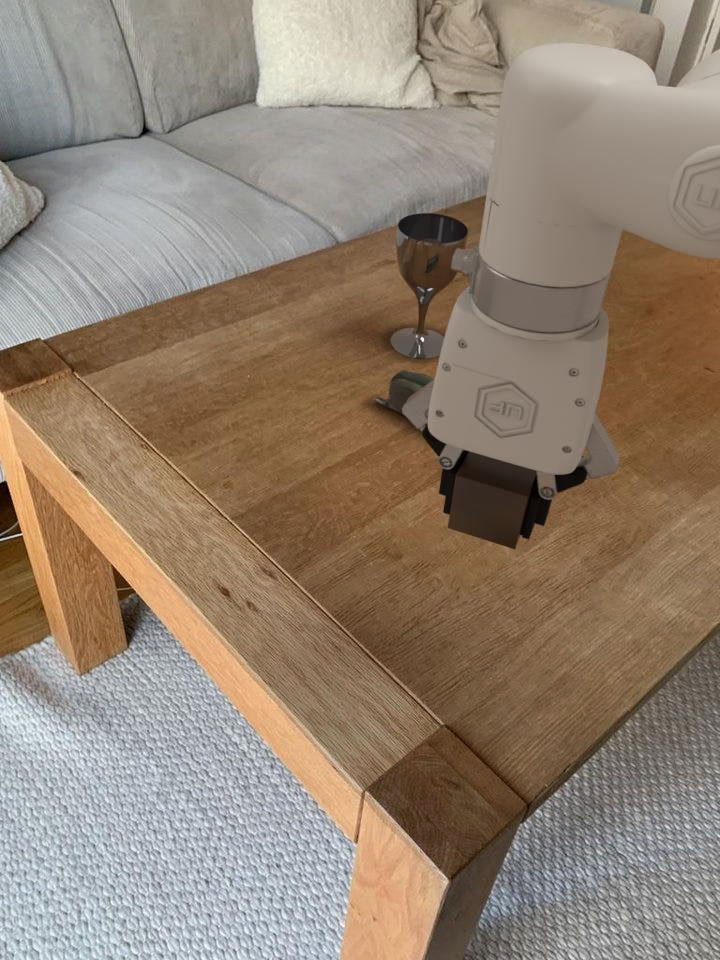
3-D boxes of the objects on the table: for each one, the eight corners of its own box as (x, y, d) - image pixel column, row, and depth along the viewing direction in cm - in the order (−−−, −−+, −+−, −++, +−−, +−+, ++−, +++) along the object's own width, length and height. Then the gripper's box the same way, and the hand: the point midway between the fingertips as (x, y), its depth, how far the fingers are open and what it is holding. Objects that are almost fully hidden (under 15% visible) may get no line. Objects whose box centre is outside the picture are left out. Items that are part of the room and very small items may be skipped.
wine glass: (448, 364, 98) (466, 247, 88) (382, 355, 99) (393, 238, 89) (453, 330, 104) (470, 217, 94) (391, 322, 105) (401, 209, 95)
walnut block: (532, 506, 61) (545, 453, 57) (515, 550, 57) (528, 497, 54) (467, 486, 62) (476, 434, 59) (447, 528, 58) (455, 475, 55)
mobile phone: (513, 410, 84) (390, 356, 89) (500, 424, 82) (375, 368, 87) (503, 447, 87) (385, 393, 93) (491, 461, 85) (370, 406, 91)
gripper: (378, 281, 47) (362, 511, 59) (681, 354, 43) (598, 587, 54) (421, 231, 52) (399, 452, 64) (695, 292, 48) (617, 517, 60)
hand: (491, 512), depth 59 cm, fingers closed on walnut block, 5 cm apart
